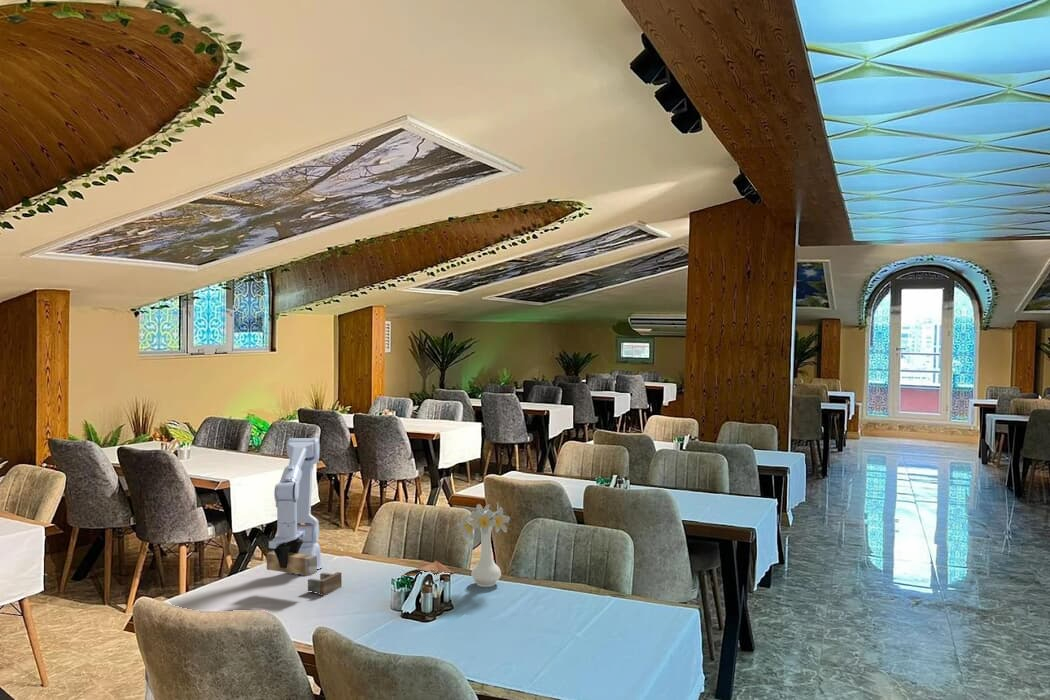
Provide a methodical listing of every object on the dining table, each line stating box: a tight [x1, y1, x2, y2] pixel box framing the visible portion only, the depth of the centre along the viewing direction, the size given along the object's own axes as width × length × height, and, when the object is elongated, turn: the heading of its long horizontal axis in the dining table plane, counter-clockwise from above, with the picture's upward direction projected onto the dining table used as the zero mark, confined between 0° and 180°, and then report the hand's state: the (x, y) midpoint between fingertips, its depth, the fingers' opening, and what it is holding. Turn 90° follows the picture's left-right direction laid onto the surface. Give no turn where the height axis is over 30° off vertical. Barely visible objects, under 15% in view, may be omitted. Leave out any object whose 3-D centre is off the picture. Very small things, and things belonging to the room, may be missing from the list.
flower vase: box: [456, 502, 511, 588], centre depth 254 cm, size 13×18×25 cm
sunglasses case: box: [402, 559, 455, 577], centre depth 262 cm, size 18×7×7 cm
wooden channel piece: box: [307, 571, 343, 596], centre depth 250 cm, size 6×9×4 cm
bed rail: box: [266, 550, 318, 577], centre depth 247 cm, size 16×4×5 cm, turn 68°
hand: (287, 565), depth 247 cm, fingers closed on bed rail, 3 cm apart
